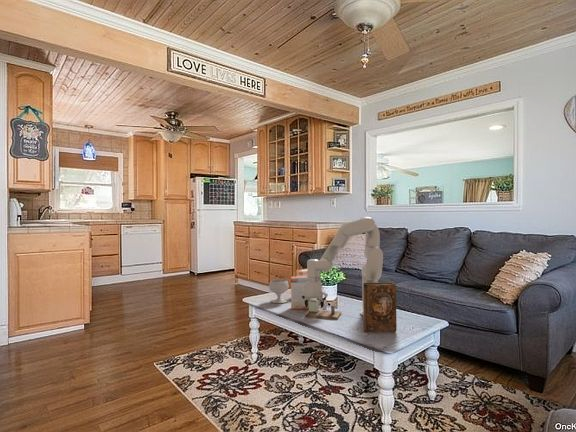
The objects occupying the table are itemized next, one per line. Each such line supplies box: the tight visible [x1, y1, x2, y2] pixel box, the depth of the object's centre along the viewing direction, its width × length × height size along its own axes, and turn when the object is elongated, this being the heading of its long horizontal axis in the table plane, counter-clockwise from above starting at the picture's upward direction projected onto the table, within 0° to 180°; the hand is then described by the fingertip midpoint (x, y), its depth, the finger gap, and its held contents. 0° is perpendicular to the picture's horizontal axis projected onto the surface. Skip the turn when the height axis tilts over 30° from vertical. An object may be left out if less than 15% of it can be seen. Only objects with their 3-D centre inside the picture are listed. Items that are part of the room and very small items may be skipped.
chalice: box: [268, 278, 290, 304], centre depth 249 cm, size 14×14×15 cm
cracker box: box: [290, 275, 314, 311], centre depth 230 cm, size 14×6×21 cm, turn 84°
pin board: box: [304, 305, 342, 321], centre depth 214 cm, size 20×12×6 cm, turn 70°
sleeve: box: [308, 299, 320, 314], centre depth 216 cm, size 5×5×7 cm
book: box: [363, 282, 398, 334], centre depth 185 cm, size 16×6×25 cm, turn 92°
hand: (314, 307), depth 216 cm, fingers open, 9 cm apart
